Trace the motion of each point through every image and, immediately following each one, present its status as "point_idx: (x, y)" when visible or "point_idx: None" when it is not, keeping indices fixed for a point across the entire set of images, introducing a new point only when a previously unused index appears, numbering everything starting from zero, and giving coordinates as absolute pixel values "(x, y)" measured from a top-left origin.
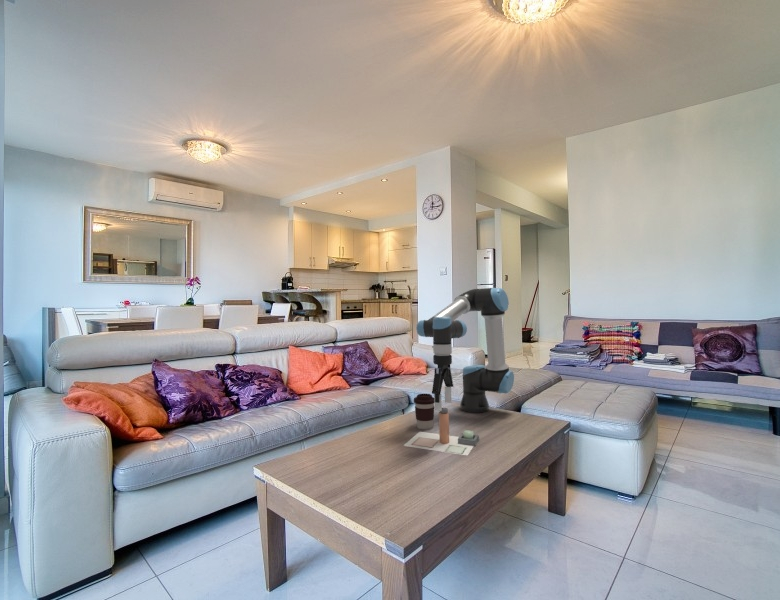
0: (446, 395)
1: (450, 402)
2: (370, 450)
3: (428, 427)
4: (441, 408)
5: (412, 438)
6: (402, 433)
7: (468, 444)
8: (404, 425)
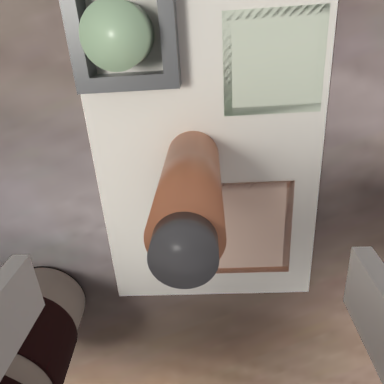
0: (6, 346)
1: (30, 260)
2: None
3: (65, 280)
4: (365, 260)
5: (214, 291)
6: (166, 340)
7: (176, 17)
8: (76, 365)
